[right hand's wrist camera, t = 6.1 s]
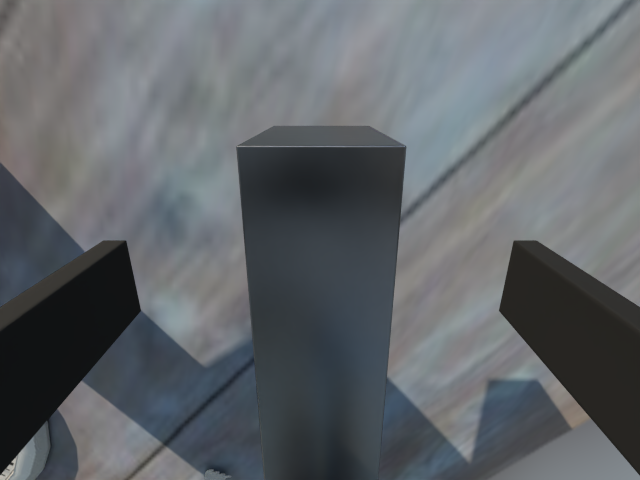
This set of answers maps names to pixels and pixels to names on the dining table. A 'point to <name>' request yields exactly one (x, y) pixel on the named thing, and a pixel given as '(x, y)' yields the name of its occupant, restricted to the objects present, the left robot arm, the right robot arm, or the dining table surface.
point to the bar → (321, 293)
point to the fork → (215, 475)
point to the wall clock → (30, 458)
